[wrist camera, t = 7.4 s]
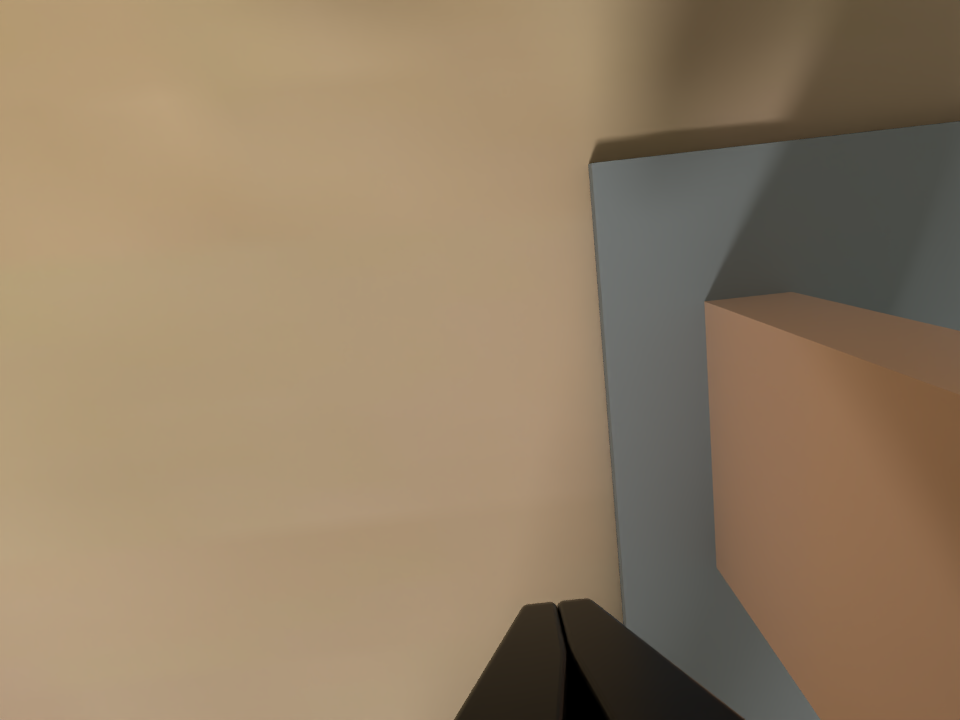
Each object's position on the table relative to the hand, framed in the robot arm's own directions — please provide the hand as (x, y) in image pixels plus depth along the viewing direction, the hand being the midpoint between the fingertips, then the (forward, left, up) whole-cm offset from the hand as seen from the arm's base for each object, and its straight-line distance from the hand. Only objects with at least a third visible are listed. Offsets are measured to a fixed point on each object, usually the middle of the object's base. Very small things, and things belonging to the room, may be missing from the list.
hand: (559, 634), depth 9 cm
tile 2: (0, -5, -6) cm, 8 cm away
